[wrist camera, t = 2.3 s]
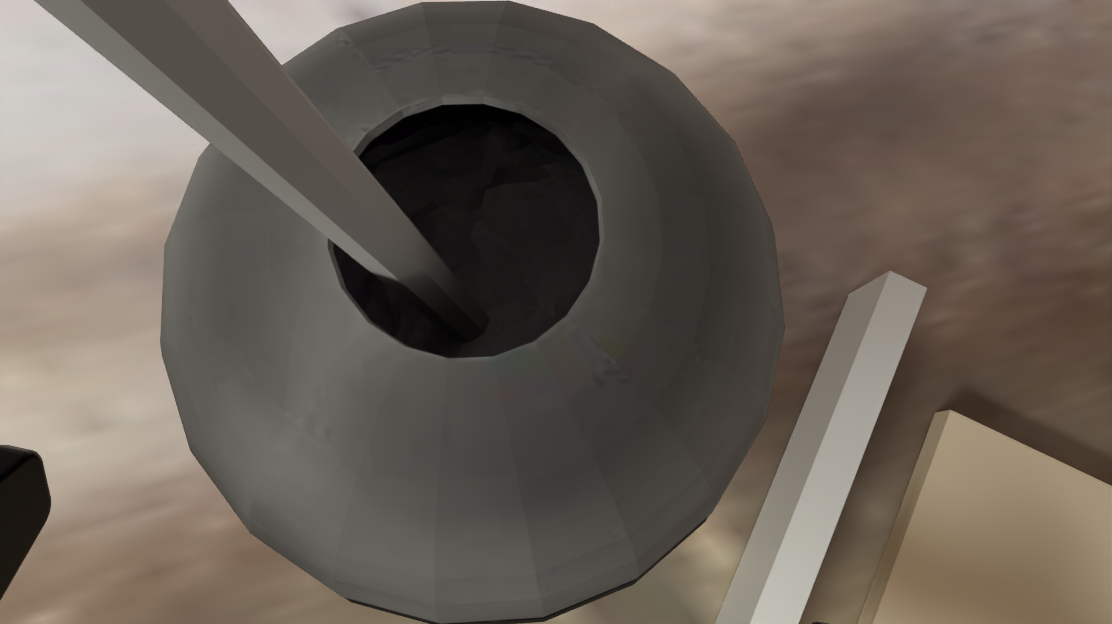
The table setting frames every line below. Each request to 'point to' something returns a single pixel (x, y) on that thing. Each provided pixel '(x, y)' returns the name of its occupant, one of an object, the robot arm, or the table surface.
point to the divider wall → (823, 454)
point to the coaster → (994, 537)
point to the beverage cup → (455, 298)
